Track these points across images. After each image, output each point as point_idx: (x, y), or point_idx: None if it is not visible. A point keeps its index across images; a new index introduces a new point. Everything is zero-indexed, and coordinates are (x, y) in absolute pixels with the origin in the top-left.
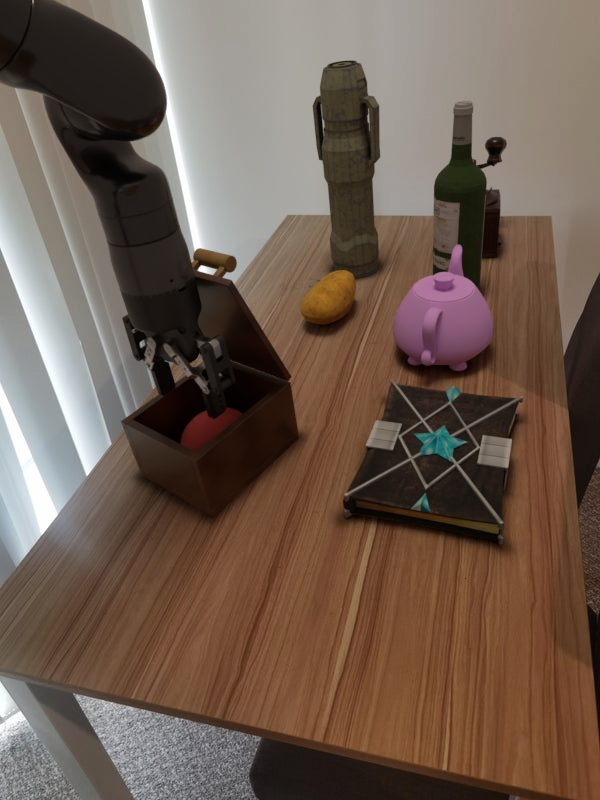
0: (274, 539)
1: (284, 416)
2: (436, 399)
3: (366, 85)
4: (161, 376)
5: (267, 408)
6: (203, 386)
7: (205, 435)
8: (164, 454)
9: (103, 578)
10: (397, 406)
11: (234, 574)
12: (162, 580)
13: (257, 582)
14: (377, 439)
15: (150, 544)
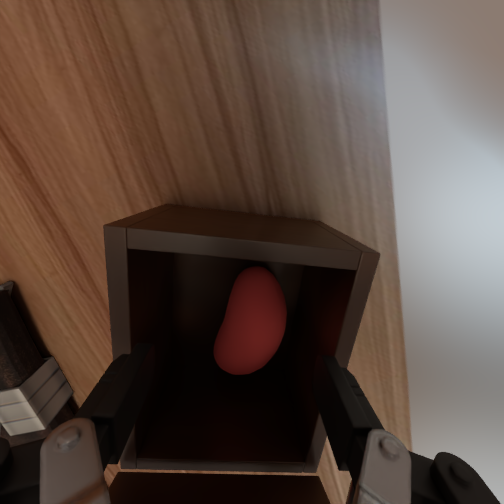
0: (63, 210)
1: None
2: None
3: None
4: (336, 412)
5: None
6: (63, 454)
7: (234, 311)
8: (234, 229)
9: (231, 20)
10: None
11: (62, 132)
12: (145, 68)
13: (24, 136)
14: (14, 403)
15: (213, 117)
